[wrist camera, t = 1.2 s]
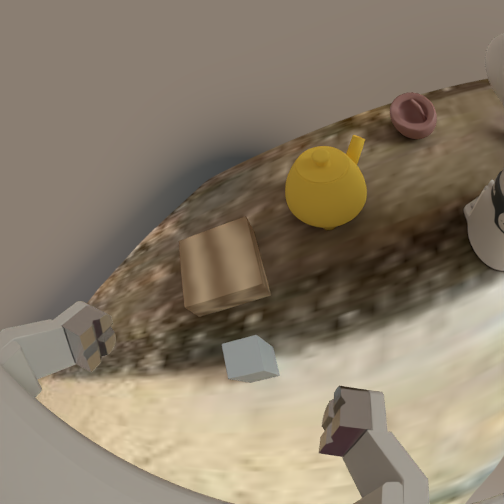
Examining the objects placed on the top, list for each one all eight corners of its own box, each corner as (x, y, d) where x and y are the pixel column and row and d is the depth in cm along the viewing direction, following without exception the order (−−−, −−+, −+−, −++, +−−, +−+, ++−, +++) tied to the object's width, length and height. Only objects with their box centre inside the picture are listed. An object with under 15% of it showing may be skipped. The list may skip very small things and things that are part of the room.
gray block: (272, 347, 45) (256, 334, 36) (279, 375, 42) (264, 370, 34) (244, 354, 45) (221, 344, 37) (250, 382, 43) (228, 378, 34)
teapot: (336, 156, 60) (330, 107, 49) (392, 189, 52) (397, 138, 40) (274, 209, 58) (256, 162, 46) (330, 253, 50) (325, 207, 38)
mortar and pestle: (381, 134, 60) (381, 96, 50) (401, 115, 61) (403, 80, 52) (422, 156, 53) (428, 117, 44) (439, 133, 55) (445, 98, 45)
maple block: (254, 233, 57) (245, 216, 52) (271, 295, 49) (262, 283, 44) (192, 255, 59) (178, 241, 54) (200, 317, 51) (184, 307, 46)
